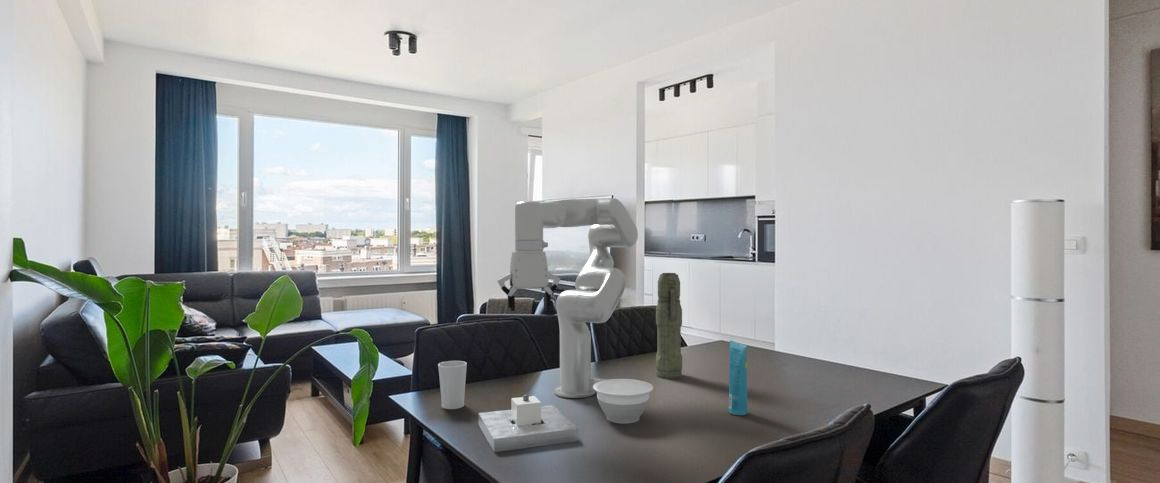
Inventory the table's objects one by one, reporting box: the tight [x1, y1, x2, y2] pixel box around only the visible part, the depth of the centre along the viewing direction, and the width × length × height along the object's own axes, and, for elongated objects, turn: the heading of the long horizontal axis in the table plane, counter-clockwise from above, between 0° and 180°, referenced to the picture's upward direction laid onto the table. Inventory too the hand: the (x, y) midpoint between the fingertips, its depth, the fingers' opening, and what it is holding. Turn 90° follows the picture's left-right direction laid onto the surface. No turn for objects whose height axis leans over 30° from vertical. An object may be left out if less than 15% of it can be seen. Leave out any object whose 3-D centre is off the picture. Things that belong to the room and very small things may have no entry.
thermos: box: [655, 272, 683, 380], centre depth 201 cm, size 9×12×35 cm
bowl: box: [593, 378, 654, 424], centre depth 157 cm, size 16×16×9 cm
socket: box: [478, 404, 579, 453], centre depth 146 cm, size 20×20×4 cm
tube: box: [728, 339, 748, 416], centre depth 160 cm, size 7×5×19 cm, turn 26°
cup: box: [437, 360, 468, 410], centre depth 168 cm, size 8×8×12 cm
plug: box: [510, 394, 542, 426], centre depth 146 cm, size 6×6×8 cm
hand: (529, 309), depth 161 cm, fingers open, 9 cm apart
